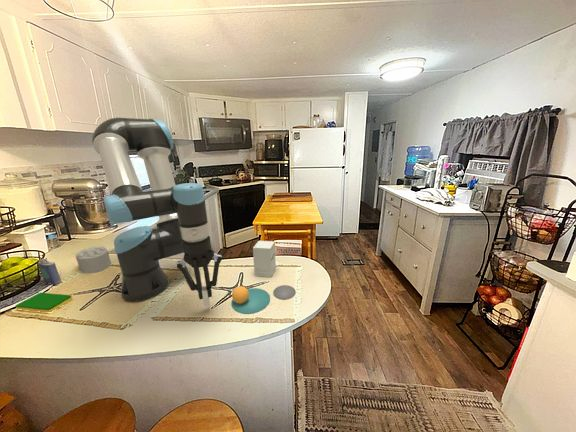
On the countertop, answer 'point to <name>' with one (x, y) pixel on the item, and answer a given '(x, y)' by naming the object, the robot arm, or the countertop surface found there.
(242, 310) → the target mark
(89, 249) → the lumpy-topped squat cylinder
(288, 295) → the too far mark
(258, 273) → the supplement box
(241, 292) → the ball
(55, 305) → the dish sponge
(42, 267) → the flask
